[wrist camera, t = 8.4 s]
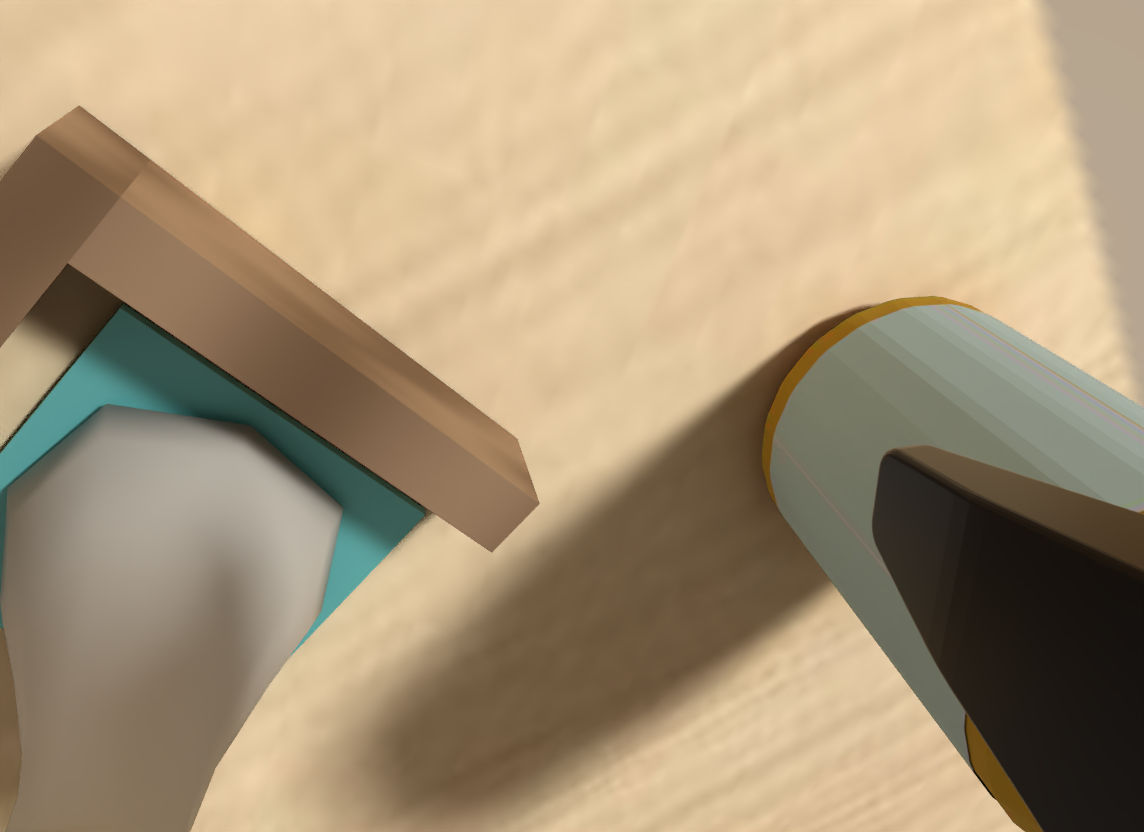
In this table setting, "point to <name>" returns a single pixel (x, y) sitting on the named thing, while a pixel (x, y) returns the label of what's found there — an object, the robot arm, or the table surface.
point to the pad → (200, 389)
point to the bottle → (947, 421)
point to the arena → (250, 320)
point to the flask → (151, 610)
